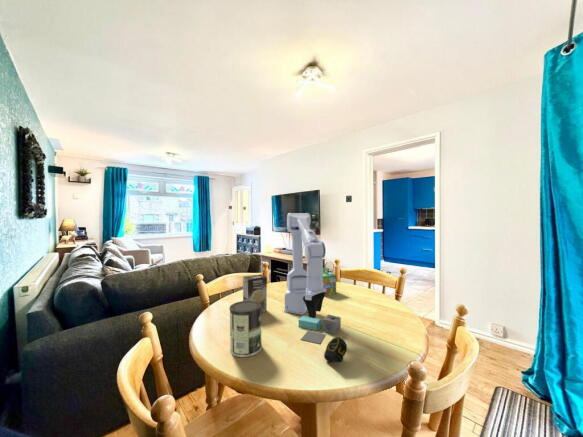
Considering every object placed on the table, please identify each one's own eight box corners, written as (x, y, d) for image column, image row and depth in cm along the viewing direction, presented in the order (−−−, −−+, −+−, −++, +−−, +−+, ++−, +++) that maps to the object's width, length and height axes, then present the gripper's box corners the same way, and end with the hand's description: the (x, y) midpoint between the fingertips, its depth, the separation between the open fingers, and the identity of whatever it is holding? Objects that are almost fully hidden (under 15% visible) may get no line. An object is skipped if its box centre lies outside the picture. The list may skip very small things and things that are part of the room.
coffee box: (248, 316, 105) (248, 279, 105) (242, 312, 111) (242, 276, 111) (267, 312, 111) (267, 276, 110) (260, 307, 116) (260, 273, 116)
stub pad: (300, 340, 85) (300, 339, 85) (307, 331, 92) (307, 330, 92) (320, 344, 82) (320, 343, 82) (325, 335, 89) (325, 334, 89)
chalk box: (313, 293, 136) (313, 267, 136) (326, 291, 141) (326, 265, 140) (323, 298, 128) (323, 270, 128) (337, 295, 133) (336, 268, 132)
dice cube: (335, 336, 88) (335, 322, 88) (322, 332, 91) (322, 319, 91) (340, 330, 93) (340, 317, 93) (328, 327, 95) (328, 314, 95)
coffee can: (259, 338, 87) (258, 299, 87) (264, 354, 77) (264, 309, 77) (229, 343, 84) (228, 302, 84) (230, 360, 74) (230, 313, 74)
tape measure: (330, 364, 73) (320, 356, 73) (339, 343, 77) (331, 335, 77) (343, 366, 68) (333, 357, 68) (352, 343, 72) (343, 335, 72)
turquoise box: (298, 327, 95) (298, 319, 95) (302, 322, 99) (302, 315, 99) (318, 331, 92) (318, 323, 92) (321, 326, 96) (321, 318, 96)
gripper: (319, 282, 79) (319, 324, 79) (331, 272, 92) (331, 308, 92) (299, 280, 82) (299, 320, 82) (313, 271, 95) (313, 305, 95)
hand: (315, 314), depth 87 cm, fingers open, 6 cm apart
